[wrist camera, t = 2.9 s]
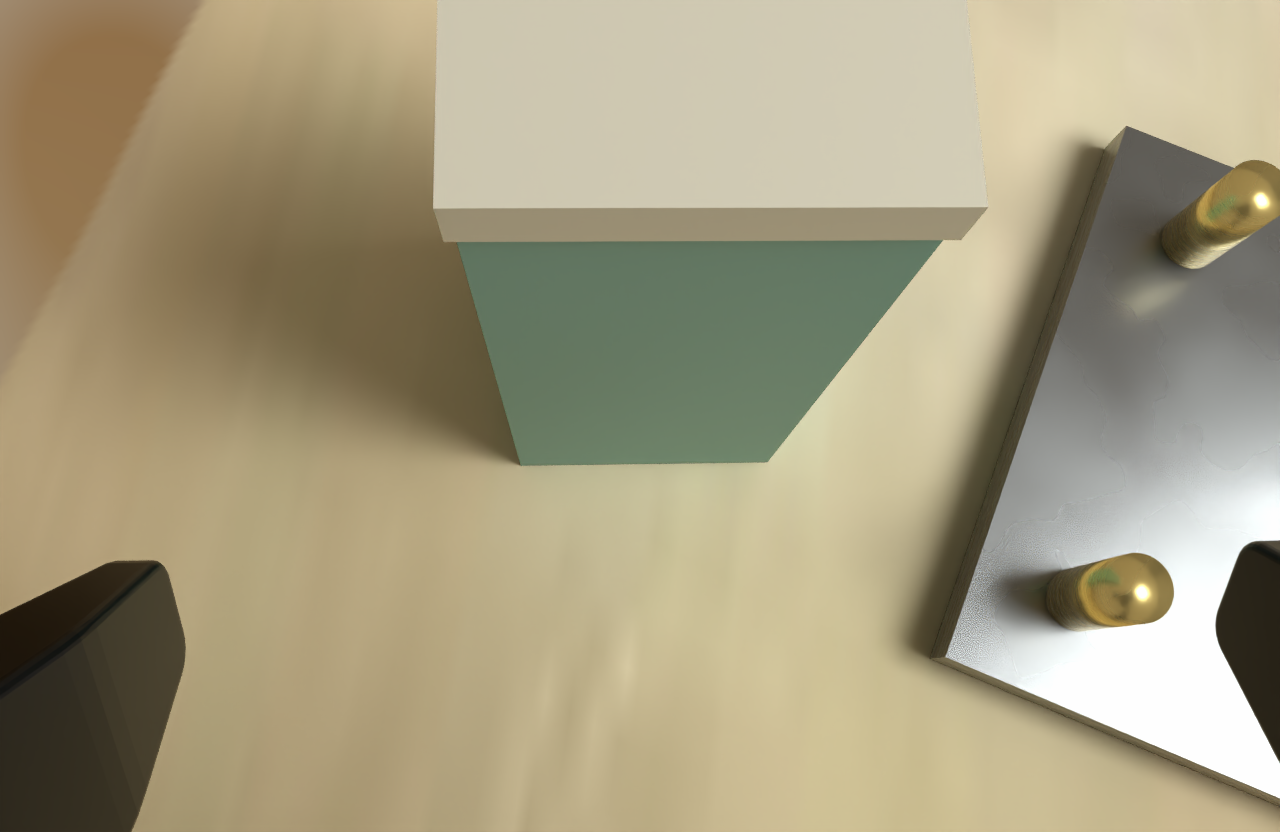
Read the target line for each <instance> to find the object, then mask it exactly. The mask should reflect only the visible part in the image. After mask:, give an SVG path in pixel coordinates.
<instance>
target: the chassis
mask: <svg viewBox="0 0 1280 832" xmlns="http://www.w3.org/2000/svg"><path fill="white" fill-rule="evenodd" d="M1273 540H1280V170H1279V169H1278V168H1276V167H1275V166H1273V165H1272V164H1269V163H1267V162H1264V161H1259V160H1250V161H1246V162H1243V163H1241V164H1239V165H1238V166H1236V167H1235V168H1232V167H1230V166H1227V165H1225V164H1222V163H1219V162H1217V161H1214V160H1212V159H1209V158H1207V157H1204V156H1202V155H1199V154H1197V153H1194V152H1192V151H1189V150H1186V149H1184V148H1181V147H1179V146H1176V145H1174V144H1171V143H1169V142H1166V141H1164V140H1161V139H1159V138H1156V137H1154V136H1151V135H1148V134H1146V133H1143V132H1141V131H1138V130H1136V129H1133V128H1131V127H1128V126H1126V127H1125V128H1124V129H1123V130H1122V131H1121V132H1120V133H1119V134H1118V135H1117V136H1116V137H1115V138H1114V139H1113V140H1112V141H1111V142H1110V143H1109V145H1108V146H1107V147H1106V148H1105V150H1104V153H1103V156H1102V159H1101V162H1100V165H1099V168H1098V171H1097V174H1096V177H1095V180H1094V182H1093V185H1092V188H1091V191H1090V194H1089V197H1088V200H1087V203H1086V206H1085V209H1084V212H1083V214H1082V217H1081V220H1080V223H1079V226H1078V229H1077V232H1076V235H1075V238H1074V241H1073V244H1072V246H1071V249H1070V252H1069V255H1068V258H1067V261H1066V264H1065V267H1064V270H1063V273H1062V276H1061V278H1060V281H1059V284H1058V287H1057V290H1056V293H1055V296H1054V299H1053V302H1052V305H1051V308H1050V310H1049V313H1048V316H1047V319H1046V322H1045V325H1044V328H1043V331H1042V334H1041V337H1040V340H1039V342H1038V345H1037V348H1036V351H1035V354H1034V357H1033V360H1032V363H1031V366H1030V369H1029V372H1028V374H1027V377H1026V380H1025V383H1024V386H1023V389H1022V392H1021V395H1020V398H1019V401H1018V404H1017V406H1016V409H1015V412H1014V415H1013V418H1012V421H1011V424H1010V427H1009V430H1008V433H1007V436H1006V438H1005V441H1004V444H1003V447H1002V450H1001V453H1000V456H999V459H998V462H997V465H996V468H995V470H994V473H993V476H992V479H991V482H990V485H989V488H988V491H987V494H986V497H985V500H984V502H983V505H982V508H981V511H980V514H979V517H978V520H977V523H976V526H975V529H974V532H973V534H972V537H971V540H970V543H969V546H968V549H967V552H966V555H965V558H964V561H963V564H962V566H961V569H960V572H959V575H958V578H957V581H956V584H955V587H954V590H953V593H952V596H951V599H950V601H949V604H948V607H947V610H946V613H945V616H944V619H943V622H942V625H941V628H940V631H939V633H938V636H937V639H936V642H935V645H934V648H933V651H932V654H931V657H930V659H932V660H934V661H937V662H939V663H942V664H944V665H946V666H949V667H951V668H953V669H956V670H958V671H960V672H963V673H965V674H968V675H970V676H972V677H975V678H977V679H979V680H982V681H984V682H987V683H989V684H991V685H994V686H996V687H998V688H1001V689H1003V690H1005V691H1008V692H1010V693H1013V694H1015V695H1017V696H1020V697H1022V698H1024V699H1027V700H1029V701H1031V702H1034V703H1036V704H1039V705H1041V706H1043V707H1046V708H1048V709H1050V710H1053V711H1055V712H1057V713H1060V714H1062V715H1065V716H1067V717H1069V718H1072V719H1074V720H1076V721H1079V722H1081V723H1083V724H1086V725H1088V726H1091V727H1093V728H1095V729H1098V730H1100V731H1102V732H1105V733H1107V734H1110V735H1112V736H1114V737H1117V738H1119V739H1121V740H1124V741H1126V742H1128V743H1131V744H1133V745H1136V746H1138V747H1140V748H1143V749H1145V750H1147V751H1150V752H1152V753H1154V754H1157V755H1159V756H1162V757H1164V758H1166V759H1169V760H1171V761H1173V762H1176V763H1178V764H1180V765H1183V766H1185V767H1188V768H1190V769H1192V770H1195V771H1197V772H1199V773H1202V774H1204V775H1206V776H1209V777H1211V778H1214V779H1216V780H1218V781H1221V782H1223V783H1225V784H1228V785H1230V786H1233V787H1235V788H1237V789H1240V790H1242V791H1244V792H1247V793H1249V794H1251V795H1254V796H1256V797H1259V798H1261V799H1263V800H1266V801H1268V802H1270V803H1273V804H1275V805H1277V806H1280V763H1279V762H1278V760H1277V758H1276V756H1275V754H1274V752H1273V750H1272V748H1271V746H1270V744H1269V742H1268V740H1267V738H1266V737H1265V735H1264V733H1263V731H1262V729H1261V727H1260V725H1259V723H1258V721H1257V719H1256V717H1255V715H1254V713H1253V711H1252V709H1251V707H1250V706H1249V704H1248V702H1247V700H1246V698H1245V696H1244V694H1243V692H1242V690H1241V688H1240V686H1239V684H1238V682H1237V680H1236V678H1235V676H1234V674H1233V673H1232V671H1231V669H1230V667H1229V665H1228V663H1227V661H1226V659H1225V657H1224V655H1223V653H1222V651H1221V649H1220V647H1219V644H1218V641H1217V637H1216V629H1215V622H1216V614H1217V610H1218V608H1219V605H1220V602H1221V600H1222V597H1223V594H1224V592H1225V589H1226V586H1227V584H1228V581H1229V578H1230V576H1231V573H1232V570H1233V568H1234V565H1235V562H1236V560H1237V557H1238V555H1239V553H1240V551H1241V550H1242V548H1243V547H1244V546H1245V545H1247V544H1249V543H1250V542H1253V541H1273Z"/></svg>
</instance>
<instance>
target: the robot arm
mask: <svg viewBox="0 0 1280 832" xmlns="http://www.w3.org/2000/svg"><path fill="white" fill-rule="evenodd" d="M1215 629H1216V637H1217V641H1218V644H1219V647H1220V649H1221V651H1222V653H1223V655H1224V657H1225V659H1226V661H1227V663H1228V665H1229V667H1230V669H1231V671H1232V673H1233V674H1234V676H1235V678H1236V680H1237V682H1238V684H1239V686H1240V688H1241V690H1242V692H1243V694H1244V696H1245V698H1246V700H1247V702H1248V704H1249V706H1250V707H1251V709H1252V711H1253V713H1254V715H1255V717H1256V719H1257V721H1258V723H1259V725H1260V727H1261V729H1262V731H1263V733H1264V735H1265V737H1266V738H1267V740H1268V742H1269V744H1270V746H1271V748H1272V750H1273V752H1274V754H1275V756H1276V758H1277V760H1278V762H1279V763H1280V540H1273V541H1253V542H1250V543H1249V544H1247V545H1245V546H1244V547H1243V548H1242V550H1241V551H1240V553H1239V555H1238V557H1237V560H1236V562H1235V565H1234V568H1233V570H1232V573H1231V576H1230V578H1229V581H1228V584H1227V586H1226V589H1225V592H1224V594H1223V597H1222V600H1221V602H1220V605H1219V608H1218V610H1217V614H1216V622H1215ZM185 650H186V646H185V637H184V632H183V628H182V624H181V620H180V617H179V613H178V609H177V605H176V601H175V597H174V593H173V590H172V586H171V582H170V578H169V575H168V573H167V571H166V569H165V567H164V566H163V565H162V564H161V563H159V562H158V561H154V560H144V561H114V562H110V563H106V564H104V565H102V566H100V567H98V568H96V569H94V570H92V571H90V572H88V573H86V574H84V575H81V576H79V577H77V578H75V579H73V580H71V581H69V582H67V583H65V584H63V585H61V586H59V587H57V588H55V589H53V590H50V591H48V592H46V593H44V594H42V595H40V596H38V597H36V598H34V599H32V600H30V601H28V602H26V603H24V604H22V605H19V606H17V607H15V608H13V609H11V610H9V611H7V612H5V613H3V614H1V615H0V832H132V829H133V827H134V824H135V822H136V819H137V817H138V814H139V812H140V809H141V806H142V803H143V800H144V797H145V794H146V791H147V788H148V784H149V781H150V778H151V774H152V771H153V768H154V764H155V761H156V758H157V755H158V751H159V748H160V745H161V741H162V738H163V735H164V732H165V728H166V725H167V722H168V718H169V715H170V712H171V708H172V705H173V702H174V699H175V695H176V692H177V689H178V685H179V682H180V679H181V676H182V672H183V668H184V662H185Z"/></svg>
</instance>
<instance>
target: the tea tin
mask: <svg viewBox="0 0 1280 832" xmlns="http://www.w3.org/2000/svg"><path fill="white" fill-rule="evenodd" d="M987 208H988V200H987V190H986V180H985V171H984V161H983V151H982V142H981V132H980V122H979V113H978V103H977V93H976V84H975V74H974V64H973V55H972V45H971V36H970V26H969V16H968V7H967V0H437V47H436V94H435V141H434V188H433V210H434V213H435V216H436V219H437V223H438V226H439V229H440V232H441V235H442V238H443V242H457V245H458V248H459V252H460V255H461V259H462V262H463V266H464V269H465V273H466V276H467V280H468V283H469V287H470V290H471V294H472V297H473V301H474V304H475V308H476V311H477V315H478V318H479V322H480V325H481V329H482V332H483V336H484V339H485V343H486V346H487V350H488V353H489V357H490V360H491V364H492V367H493V371H494V374H495V377H496V381H497V384H498V388H499V391H500V395H501V398H502V402H503V405H504V409H505V412H506V416H507V419H508V423H509V426H510V430H511V433H512V437H513V440H514V444H515V447H516V451H517V454H518V458H519V461H520V465H521V466H528V465H600V464H672V463H744V462H768V461H769V459H770V458H771V457H772V456H773V454H774V453H775V452H776V451H777V449H778V448H779V447H780V445H781V444H782V443H783V442H784V440H785V439H786V438H787V437H788V435H789V434H790V433H791V432H792V430H793V429H794V428H795V427H796V425H797V424H798V423H799V421H800V420H801V419H802V418H803V416H804V415H805V414H806V413H807V411H808V410H809V409H810V408H811V406H812V405H813V404H814V403H815V401H816V400H817V399H818V397H819V396H820V395H821V394H822V392H823V391H824V390H825V389H826V387H827V386H828V385H829V384H830V382H831V381H832V380H833V379H834V377H835V376H836V375H837V373H838V372H839V371H840V370H841V368H842V367H843V366H844V365H845V363H846V362H847V361H848V360H849V358H850V357H851V356H852V355H853V353H854V352H855V351H856V349H857V348H858V347H859V346H860V344H861V343H862V342H863V341H864V339H865V338H866V337H867V336H868V334H869V333H870V332H871V331H872V329H873V328H874V327H875V325H876V324H877V323H878V322H879V320H880V319H881V318H882V317H883V315H884V314H885V313H886V312H887V310H888V309H889V308H890V307H891V305H892V304H893V303H894V301H895V300H896V299H897V298H898V296H899V295H900V294H901V293H902V291H903V290H904V289H905V288H906V286H907V285H908V284H909V283H910V281H911V280H912V279H913V277H914V276H915V275H916V274H917V272H918V271H919V270H920V269H921V267H922V266H923V265H924V264H925V262H926V261H927V260H928V259H929V257H930V256H931V255H932V253H933V252H934V251H935V250H936V248H937V247H938V246H939V245H940V243H941V242H942V241H943V240H961V239H962V238H963V237H964V236H965V235H966V233H967V232H968V231H969V230H970V229H971V227H972V226H973V225H974V224H975V223H976V221H977V220H978V219H979V218H980V217H981V215H982V214H983V213H984V212H985V211H986V209H987Z"/></svg>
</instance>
